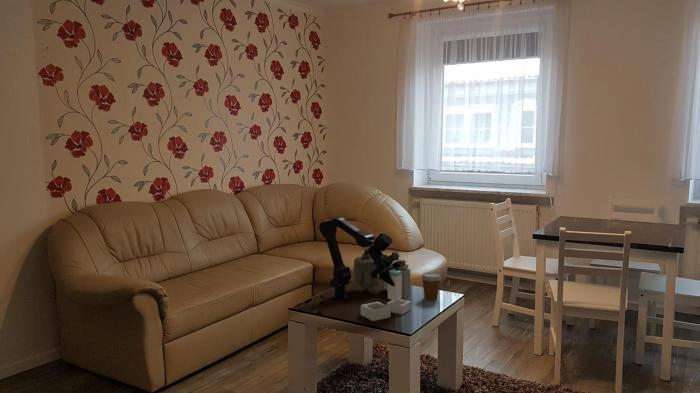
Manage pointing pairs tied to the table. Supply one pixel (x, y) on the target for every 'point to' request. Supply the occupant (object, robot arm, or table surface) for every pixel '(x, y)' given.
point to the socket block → (375, 311)
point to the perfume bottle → (405, 279)
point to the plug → (395, 291)
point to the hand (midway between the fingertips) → (397, 284)
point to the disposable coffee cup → (431, 285)
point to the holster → (399, 306)
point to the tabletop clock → (364, 272)
